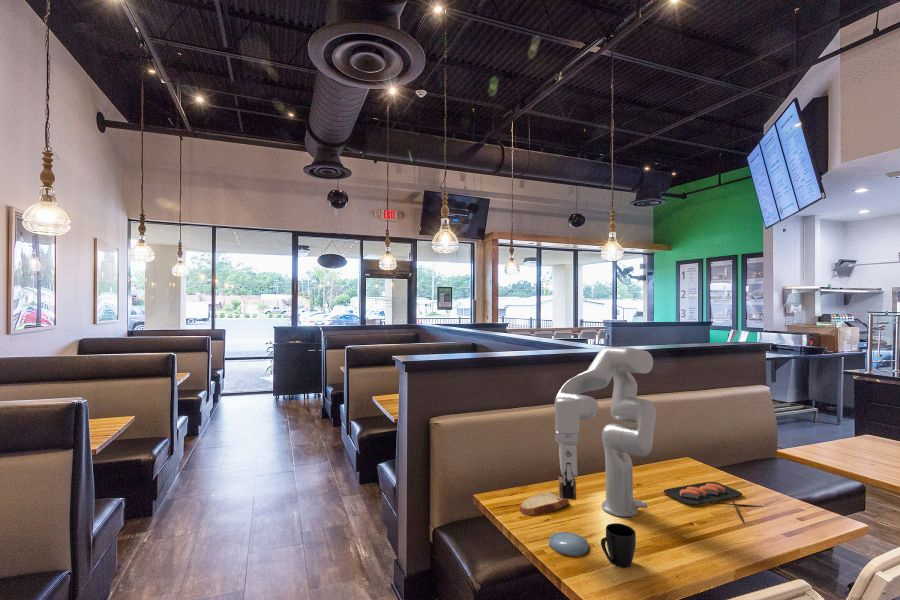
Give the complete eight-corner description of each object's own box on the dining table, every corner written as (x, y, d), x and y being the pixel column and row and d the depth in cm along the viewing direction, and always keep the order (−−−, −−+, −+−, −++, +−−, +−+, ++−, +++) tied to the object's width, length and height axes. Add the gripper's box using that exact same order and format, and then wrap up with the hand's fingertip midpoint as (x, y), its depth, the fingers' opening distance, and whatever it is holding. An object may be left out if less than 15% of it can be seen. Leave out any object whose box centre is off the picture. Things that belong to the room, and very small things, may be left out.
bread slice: (518, 515, 157) (518, 505, 157) (523, 495, 174) (523, 485, 175) (568, 521, 152) (568, 511, 152) (568, 500, 170) (568, 490, 170)
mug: (591, 563, 126) (590, 530, 126) (619, 552, 132) (618, 520, 132) (613, 578, 119) (613, 543, 119) (642, 565, 125) (641, 532, 125)
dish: (585, 537, 140) (585, 533, 141) (590, 558, 129) (590, 553, 129) (548, 534, 143) (548, 530, 143) (550, 554, 131) (550, 549, 131)
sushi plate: (713, 485, 184) (713, 476, 184) (787, 516, 156) (787, 505, 156) (660, 494, 175) (659, 485, 175) (728, 529, 146) (728, 518, 146)
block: (574, 493, 138) (574, 477, 139) (576, 499, 134) (576, 483, 134) (558, 492, 139) (558, 476, 140) (559, 498, 135) (559, 482, 135)
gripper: (582, 445, 128) (582, 506, 127) (576, 430, 145) (576, 485, 144) (556, 443, 130) (556, 504, 129) (554, 429, 146) (554, 483, 146)
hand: (567, 493), depth 137 cm, fingers closed on block, 4 cm apart
